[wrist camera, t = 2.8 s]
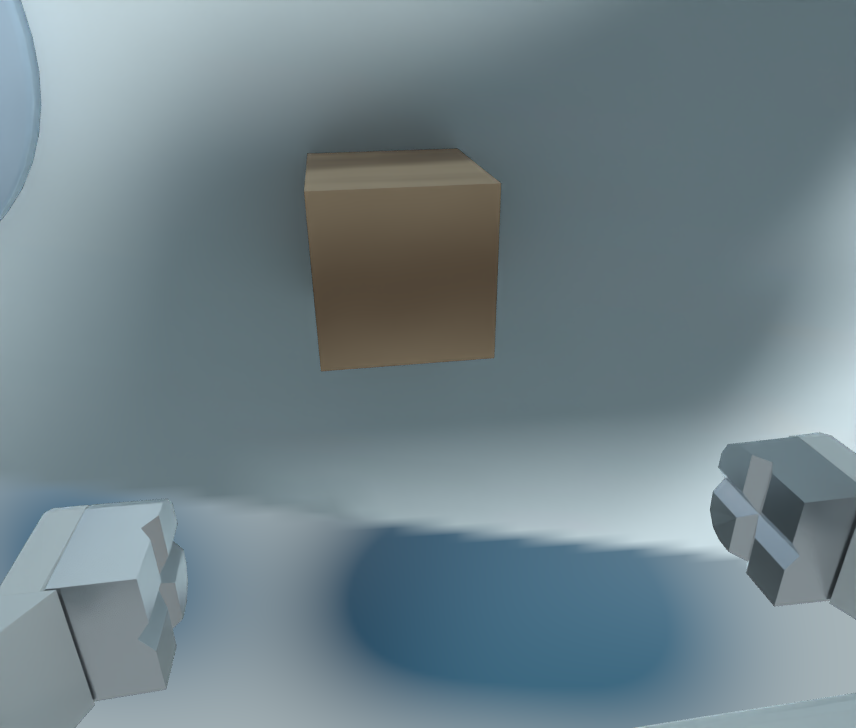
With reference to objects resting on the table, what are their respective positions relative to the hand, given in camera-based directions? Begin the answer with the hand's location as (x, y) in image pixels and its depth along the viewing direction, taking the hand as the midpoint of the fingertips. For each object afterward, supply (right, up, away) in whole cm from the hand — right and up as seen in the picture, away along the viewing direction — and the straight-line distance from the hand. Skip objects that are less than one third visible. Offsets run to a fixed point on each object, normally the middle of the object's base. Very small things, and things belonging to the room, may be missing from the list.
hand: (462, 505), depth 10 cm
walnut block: (-2, +7, +13) cm, 15 cm away
